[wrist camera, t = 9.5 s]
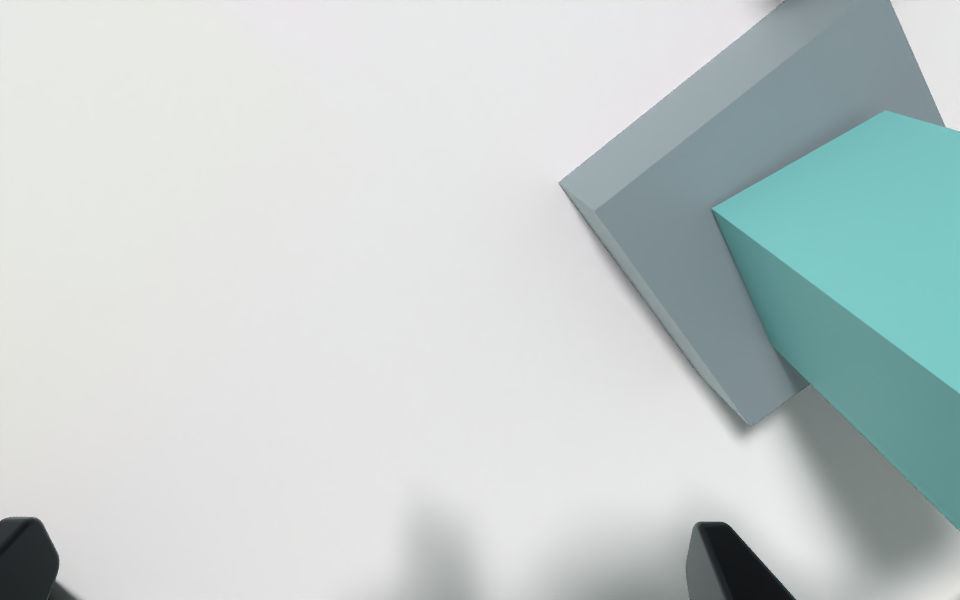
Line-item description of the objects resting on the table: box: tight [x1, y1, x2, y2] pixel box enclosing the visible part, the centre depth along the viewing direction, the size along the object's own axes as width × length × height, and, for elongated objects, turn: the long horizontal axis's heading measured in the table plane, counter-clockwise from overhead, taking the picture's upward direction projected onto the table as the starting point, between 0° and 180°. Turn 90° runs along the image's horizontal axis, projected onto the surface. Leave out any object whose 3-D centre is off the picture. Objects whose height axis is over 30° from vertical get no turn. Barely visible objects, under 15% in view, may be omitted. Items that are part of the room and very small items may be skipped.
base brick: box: [559, 0, 945, 427], centre depth 22 cm, size 9×9×4 cm
